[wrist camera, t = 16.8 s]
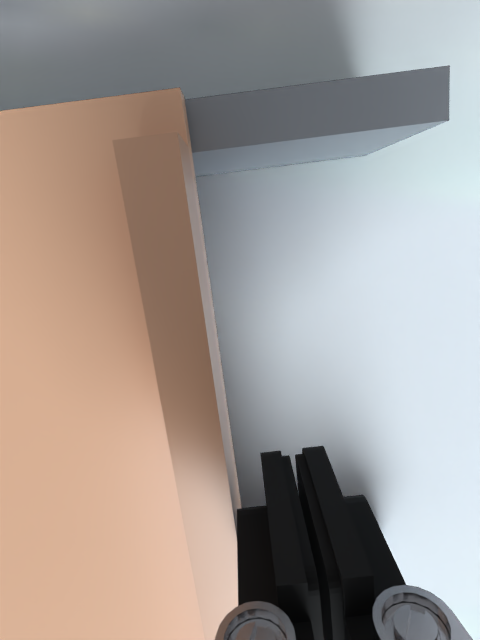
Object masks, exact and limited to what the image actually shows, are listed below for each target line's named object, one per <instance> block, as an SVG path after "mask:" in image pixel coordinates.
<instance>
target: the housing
mask: <svg viewBox="0 0 480 640" xmlns="http://www.w3.org/2000/svg"><path fill="white" fill-rule="evenodd" d="M449 74H450V66H442V67H434V68H426V69H419V70H411V71H403V72H395V73H388V74H380V75H372V76H364V77H356V78H349V79H341V80H333V81H325V82H318V83H310V84H302V85H294V86H287V87H279V88H271V89H263V90H256V91H248V92H240V93H232V94H225V95H217V96H209V97H201V98H194V99H186V100H185V106H186V113H187V120H188V127H189V134H190V141H191V149H192V156H193V163H194V170H195V177H196V176H204V175H212V174H220V173H228V172H236V171H244V170H252V169H260V168H268V167H276V166H284V165H292V164H300V163H308V162H316V161H324V160H332V159H340V158H348V157H356V156H364V155H368V154H370V153H372V152H375V151H377V150H380V149H382V148H384V147H387V146H389V145H391V144H394V143H396V142H399V141H401V140H403V139H406V138H408V137H411V136H413V135H415V134H418V133H420V132H422V131H425V130H427V129H430V128H432V127H434V126H437V125H439V124H441V123H444V122H446V121H449Z"/></svg>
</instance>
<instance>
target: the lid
mask: <svg viewBox="0 0 480 640" xmlns="http://www.w3.org/2000/svg"><path fill="white" fill-rule="evenodd" d="M241 508H242V507H241V500H240V493H239V486H238V478H237V471H236V464H235V457H234V450H233V443H232V435H231V428H230V421H229V414H228V407H227V400H226V392H225V385H224V378H223V371H222V364H221V357H220V349H219V342H218V335H217V328H216V321H215V314H214V306H213V299H212V292H211V285H210V278H209V271H208V263H207V256H206V249H205V242H204V235H203V228H202V220H201V213H200V206H199V199H198V192H197V184H196V177H195V170H194V163H193V156H192V149H191V141H190V134H189V127H188V120H187V113H186V106H185V98H184V95H183V93H182V91H181V89H180V88H172V89H165V90H157V91H149V92H142V93H134V94H126V95H118V96H111V97H103V98H95V99H88V100H80V101H72V102H64V103H57V104H49V105H41V106H33V107H26V108H18V109H10V110H3V111H0V640H215V637H216V634H217V631H218V628H219V625H220V623H221V622H222V621H223V619H224V618H225V616H226V615H227V614H228V613H229V612H230V611H232V610H233V609H234V608H235V607H237V606H238V563H237V509H241Z"/></svg>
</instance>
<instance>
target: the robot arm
mask: <svg viewBox="0 0 480 640" xmlns="http://www.w3.org/2000/svg"><path fill="white" fill-rule="evenodd" d="M295 459H296V470H297V481H298V490H297V486H296V482H295V477H294V473H293V469H292V465H291V460H290V456H282V455H281V451H273V452H265V453H261V462H262V470H263V479H264V487H265V496H266V504H267V506H259V507H250V508H241V509H237V563H238V606H237V607H235V608H234V609H233V610H232V611H230V612H229V613H228V614H227V615H226V616H225V618H224V619H223V621H222V622H221V623H220V625H219V628H218V631H217V634H216V637H215V640H473V639H472V638H471V636H470V635H469V634H468V632H467V631H466V630H465V628H464V627H463V625H462V624H461V623H460V621H459V620H458V618H457V617H456V616H455V614H454V613H453V611H452V610H451V609H450V608H449V607H448V606H447V605H446V604H445V603H444V602H443V601H442V600H441V599H440V598H438V597H437V596H435V595H434V594H432V593H431V592H429V591H426V590H424V589H421V588H419V587H414V586H408V585H406V584H405V581H404V579H403V577H402V575H401V573H400V571H399V568H398V566H397V564H396V562H395V560H394V558H393V556H392V553H391V551H390V549H389V547H388V545H387V543H386V541H385V538H384V536H383V534H382V532H381V530H380V528H379V525H378V523H377V521H376V519H375V517H374V515H373V513H372V510H371V508H370V506H369V504H368V502H367V500H366V498H365V497H364V496H363V495H357V496H348V497H343V495H342V493H341V490H340V487H339V485H338V482H337V480H336V477H335V475H334V472H333V469H332V467H331V464H330V462H329V459H328V456H327V454H326V451H325V449H324V447H323V446H318V447H309V448H303V449H302V454H297V455H295ZM298 492H299V494H298Z"/></svg>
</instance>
